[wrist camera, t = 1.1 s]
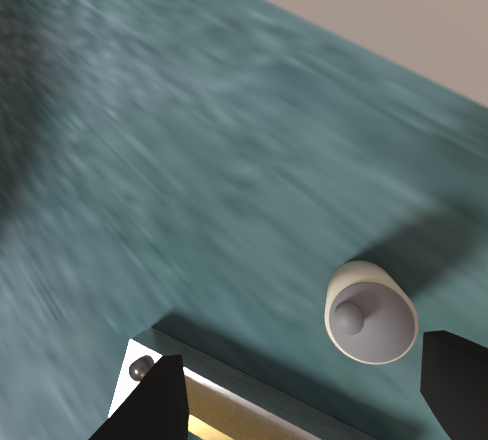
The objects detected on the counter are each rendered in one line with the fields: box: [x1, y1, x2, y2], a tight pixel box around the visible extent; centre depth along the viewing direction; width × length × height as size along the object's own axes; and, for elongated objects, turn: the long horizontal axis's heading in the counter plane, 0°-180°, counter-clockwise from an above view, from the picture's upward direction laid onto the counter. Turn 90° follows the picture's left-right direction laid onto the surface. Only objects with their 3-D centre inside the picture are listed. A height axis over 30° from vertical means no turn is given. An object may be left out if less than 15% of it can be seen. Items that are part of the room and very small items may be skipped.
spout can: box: [325, 260, 418, 364], centre depth 16 cm, size 4×4×7 cm
